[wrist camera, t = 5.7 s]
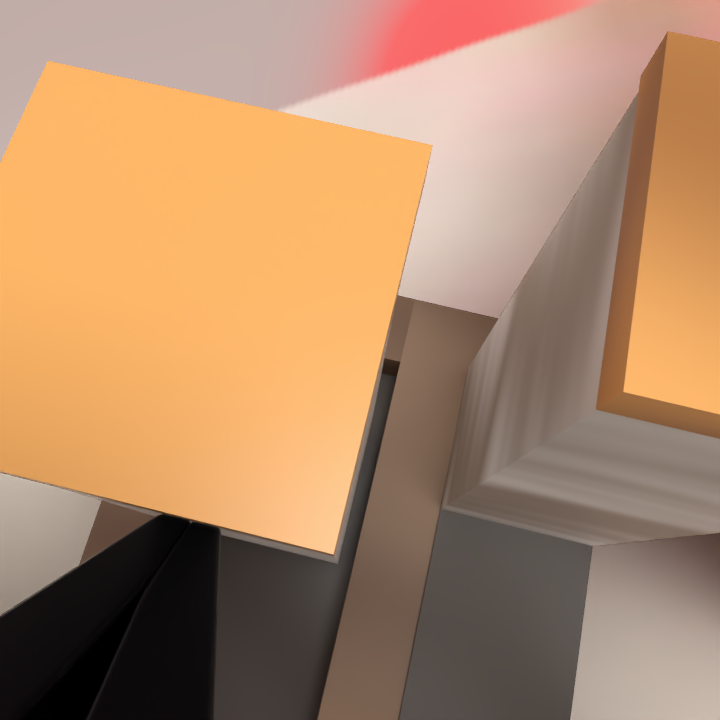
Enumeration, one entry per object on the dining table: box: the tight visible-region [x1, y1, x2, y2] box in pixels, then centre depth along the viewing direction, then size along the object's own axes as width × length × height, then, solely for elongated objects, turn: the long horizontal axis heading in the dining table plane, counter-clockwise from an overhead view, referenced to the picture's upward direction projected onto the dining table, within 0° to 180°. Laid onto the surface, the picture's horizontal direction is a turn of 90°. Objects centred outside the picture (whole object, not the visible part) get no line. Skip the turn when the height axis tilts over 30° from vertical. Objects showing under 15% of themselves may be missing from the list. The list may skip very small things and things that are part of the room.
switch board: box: [79, 31, 720, 720], centre depth 10 cm, size 16×11×12 cm
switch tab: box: [0, 61, 432, 564], centre depth 11 cm, size 4×4×12 cm
